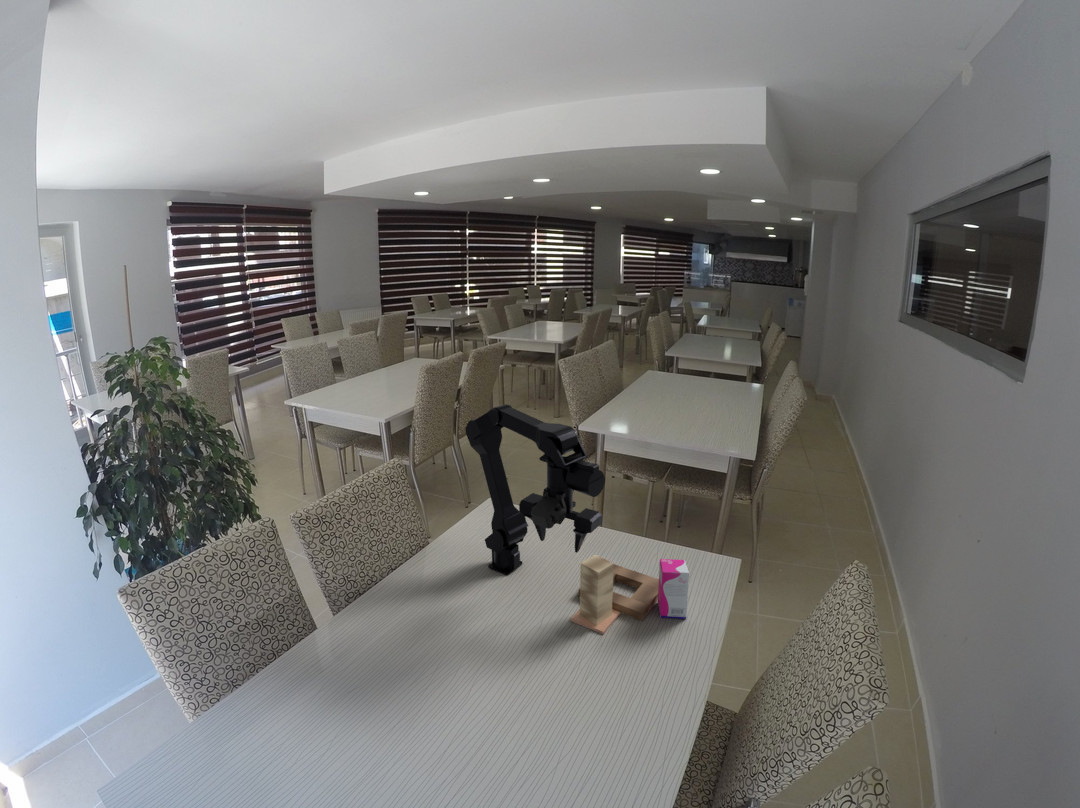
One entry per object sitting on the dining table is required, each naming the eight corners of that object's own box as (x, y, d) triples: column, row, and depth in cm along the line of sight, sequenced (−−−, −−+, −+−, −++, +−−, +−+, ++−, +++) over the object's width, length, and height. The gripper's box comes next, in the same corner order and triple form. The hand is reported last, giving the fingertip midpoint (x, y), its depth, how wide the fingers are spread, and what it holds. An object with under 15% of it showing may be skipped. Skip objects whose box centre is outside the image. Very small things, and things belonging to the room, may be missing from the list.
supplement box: (682, 603, 130) (686, 559, 127) (686, 619, 125) (690, 574, 121) (656, 601, 131) (659, 557, 128) (659, 618, 125) (662, 572, 122)
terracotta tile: (570, 620, 124) (570, 618, 124) (588, 602, 131) (588, 599, 131) (603, 634, 120) (603, 631, 120) (620, 614, 126) (620, 611, 126)
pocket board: (578, 596, 133) (578, 589, 132) (606, 568, 144) (606, 561, 143) (642, 620, 124) (642, 613, 124) (666, 589, 135) (666, 581, 135)
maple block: (579, 615, 125) (580, 563, 122) (594, 605, 129) (595, 554, 125) (596, 625, 122) (598, 572, 118) (611, 615, 125) (613, 563, 122)
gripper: (503, 486, 124) (505, 549, 128) (578, 507, 114) (577, 575, 118) (532, 469, 133) (533, 529, 137) (604, 487, 123) (602, 551, 127)
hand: (559, 546), depth 130 cm, fingers open, 9 cm apart
